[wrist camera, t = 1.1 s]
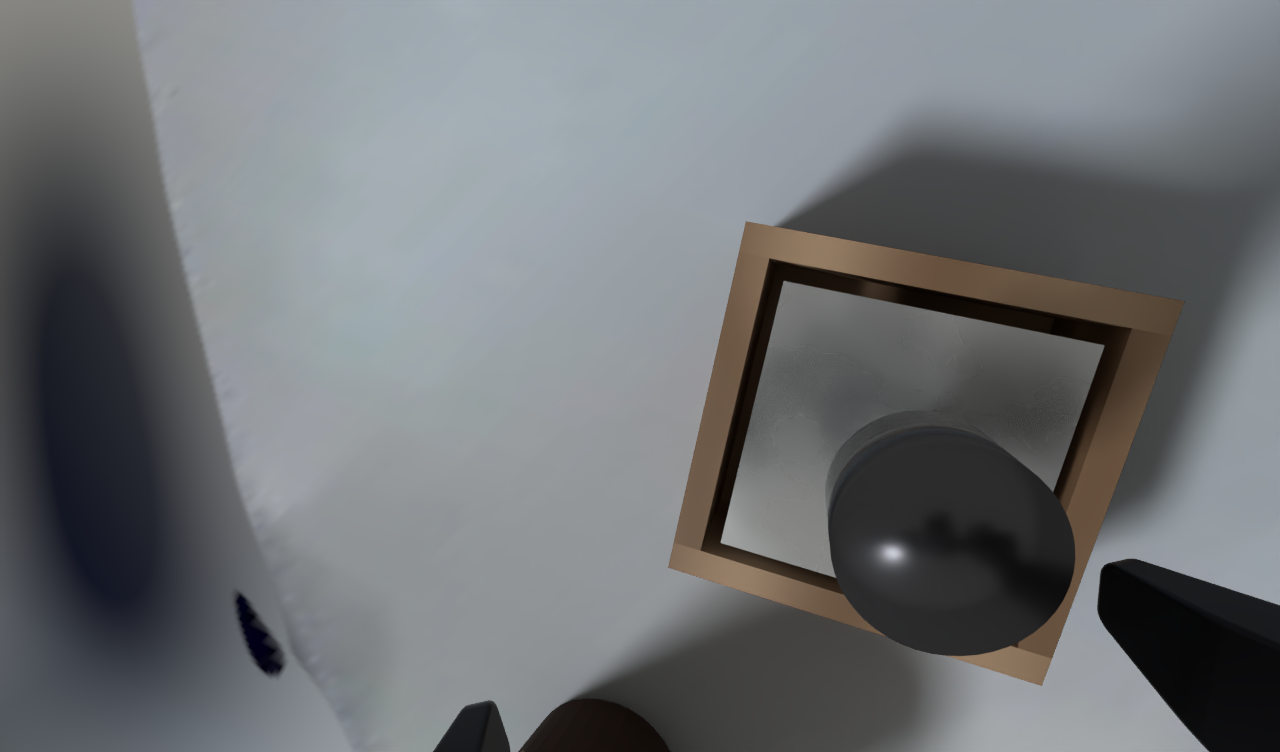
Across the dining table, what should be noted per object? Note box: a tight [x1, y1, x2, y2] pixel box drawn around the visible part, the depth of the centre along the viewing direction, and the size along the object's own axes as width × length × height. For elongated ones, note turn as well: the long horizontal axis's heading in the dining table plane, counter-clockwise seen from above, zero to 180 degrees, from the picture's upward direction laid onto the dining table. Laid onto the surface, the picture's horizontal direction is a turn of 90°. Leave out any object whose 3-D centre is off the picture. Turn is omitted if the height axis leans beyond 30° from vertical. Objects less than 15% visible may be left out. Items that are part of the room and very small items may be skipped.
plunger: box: [721, 281, 1105, 656], centre depth 13 cm, size 7×7×7 cm
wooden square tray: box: [668, 222, 1185, 686], centre depth 18 cm, size 10×10×6 cm
